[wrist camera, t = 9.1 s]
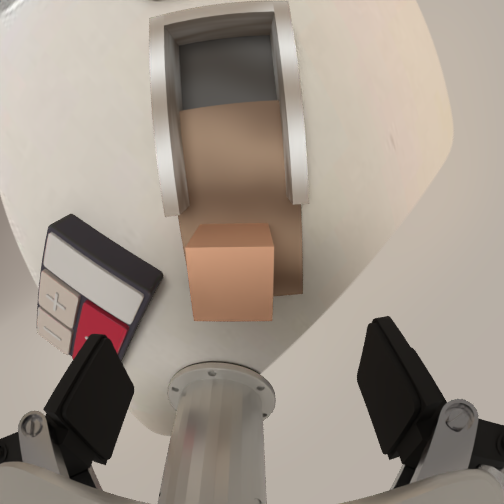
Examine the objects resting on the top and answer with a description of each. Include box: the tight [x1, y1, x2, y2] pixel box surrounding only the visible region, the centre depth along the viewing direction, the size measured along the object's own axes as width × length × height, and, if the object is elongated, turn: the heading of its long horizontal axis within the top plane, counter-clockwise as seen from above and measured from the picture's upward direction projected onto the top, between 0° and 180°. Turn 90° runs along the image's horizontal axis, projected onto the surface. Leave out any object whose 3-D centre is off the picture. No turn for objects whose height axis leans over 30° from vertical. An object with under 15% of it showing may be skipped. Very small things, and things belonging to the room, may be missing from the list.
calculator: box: [37, 214, 163, 361], centre depth 23 cm, size 11×4×15 cm
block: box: [185, 223, 274, 321], centre depth 18 cm, size 5×5×5 cm
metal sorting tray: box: [149, 1, 309, 296], centre depth 17 cm, size 22×9×4 cm, turn 5°
